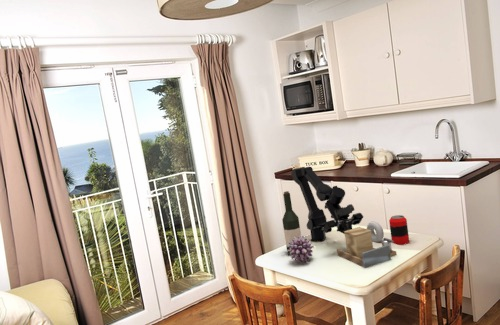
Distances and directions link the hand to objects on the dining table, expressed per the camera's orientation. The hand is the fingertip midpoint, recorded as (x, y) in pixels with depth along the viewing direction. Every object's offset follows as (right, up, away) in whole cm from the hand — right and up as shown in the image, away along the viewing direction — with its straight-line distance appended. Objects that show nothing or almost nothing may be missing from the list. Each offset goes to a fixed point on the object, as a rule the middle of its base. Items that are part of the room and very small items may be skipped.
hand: (352, 238), depth 187 cm
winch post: (+13, -7, -6) cm, 16 cm away
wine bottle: (-24, -10, +17) cm, 31 cm away
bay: (+3, -8, -5) cm, 10 cm away
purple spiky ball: (-22, -11, +3) cm, 25 cm away
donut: (+14, -4, +13) cm, 20 cm away
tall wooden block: (+3, -7, -3) cm, 8 cm away
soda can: (+24, -3, +8) cm, 25 cm away
